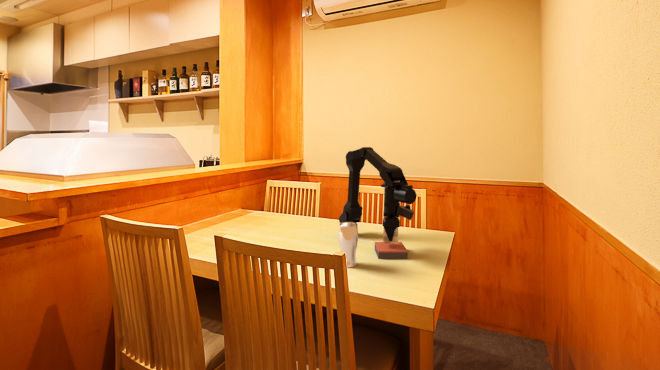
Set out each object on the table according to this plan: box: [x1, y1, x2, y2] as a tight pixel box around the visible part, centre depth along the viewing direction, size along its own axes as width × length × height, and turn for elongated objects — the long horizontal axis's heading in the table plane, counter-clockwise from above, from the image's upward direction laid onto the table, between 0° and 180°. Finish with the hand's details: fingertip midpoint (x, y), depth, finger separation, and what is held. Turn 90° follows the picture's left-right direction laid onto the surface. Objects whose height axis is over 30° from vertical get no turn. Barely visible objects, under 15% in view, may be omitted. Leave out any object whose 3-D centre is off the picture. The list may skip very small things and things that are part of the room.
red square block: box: [374, 241, 409, 260], centre depth 130 cm, size 11×11×4 cm
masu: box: [382, 227, 399, 244], centre depth 129 cm, size 6×6×5 cm
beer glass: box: [338, 222, 359, 268], centre depth 118 cm, size 7×7×15 cm
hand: (390, 238), depth 130 cm, fingers closed on masu, 6 cm apart
